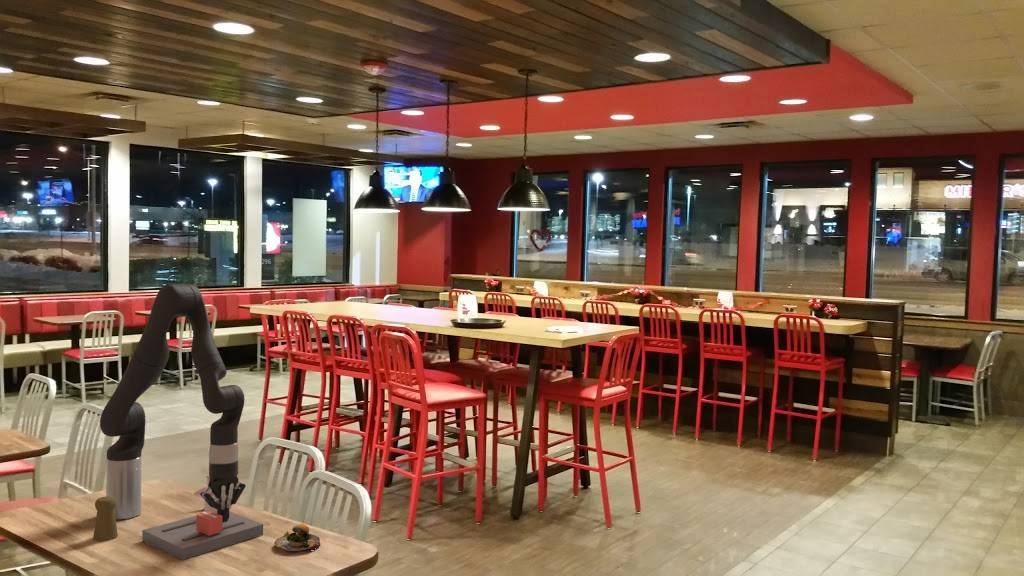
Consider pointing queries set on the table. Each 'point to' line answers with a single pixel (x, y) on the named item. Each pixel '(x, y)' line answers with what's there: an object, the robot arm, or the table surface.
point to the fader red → (209, 523)
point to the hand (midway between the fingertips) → (223, 521)
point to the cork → (105, 519)
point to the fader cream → (208, 508)
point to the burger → (298, 539)
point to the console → (199, 536)
